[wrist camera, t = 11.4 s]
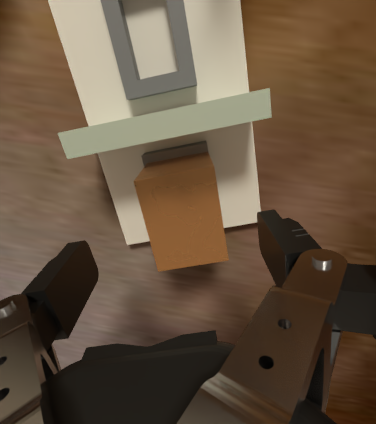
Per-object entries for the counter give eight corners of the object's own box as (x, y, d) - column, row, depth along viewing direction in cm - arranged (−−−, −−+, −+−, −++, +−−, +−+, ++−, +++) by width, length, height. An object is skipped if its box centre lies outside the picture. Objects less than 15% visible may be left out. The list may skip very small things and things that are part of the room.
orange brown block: (149, 159, 20) (133, 181, 14) (206, 148, 20) (214, 166, 14) (166, 228, 22) (158, 271, 16) (218, 219, 22) (228, 260, 16)
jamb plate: (50, -12, 17) (-17, -69, 12) (230, -58, 16) (253, -144, 11) (129, 239, 24) (111, 279, 19) (258, 216, 23) (281, 251, 18)
